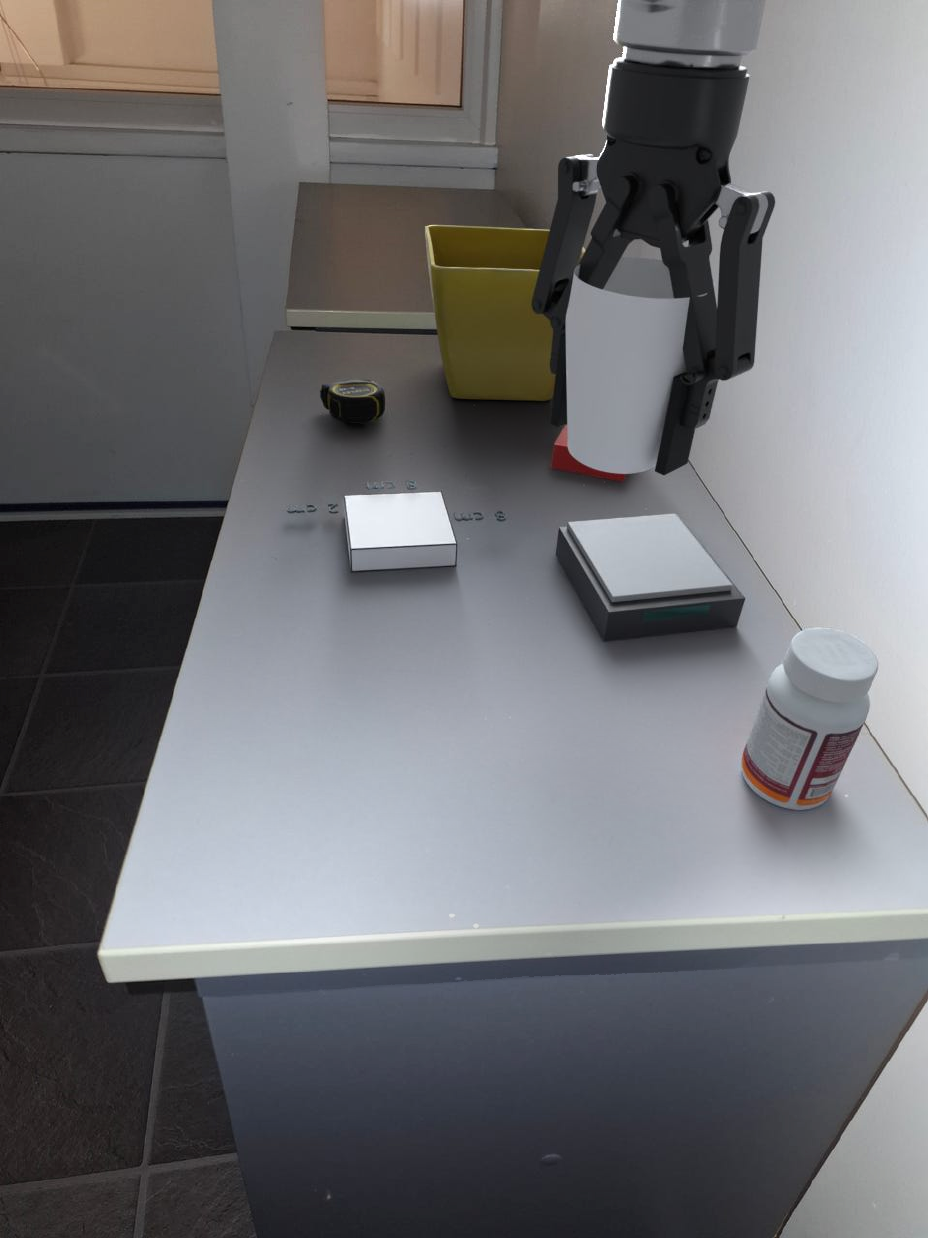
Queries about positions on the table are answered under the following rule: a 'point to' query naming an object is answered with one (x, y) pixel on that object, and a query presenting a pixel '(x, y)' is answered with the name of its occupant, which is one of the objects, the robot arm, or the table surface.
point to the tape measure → (354, 400)
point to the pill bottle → (809, 718)
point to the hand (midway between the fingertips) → (616, 442)
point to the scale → (646, 577)
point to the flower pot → (490, 311)
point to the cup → (622, 365)
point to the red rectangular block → (569, 463)
